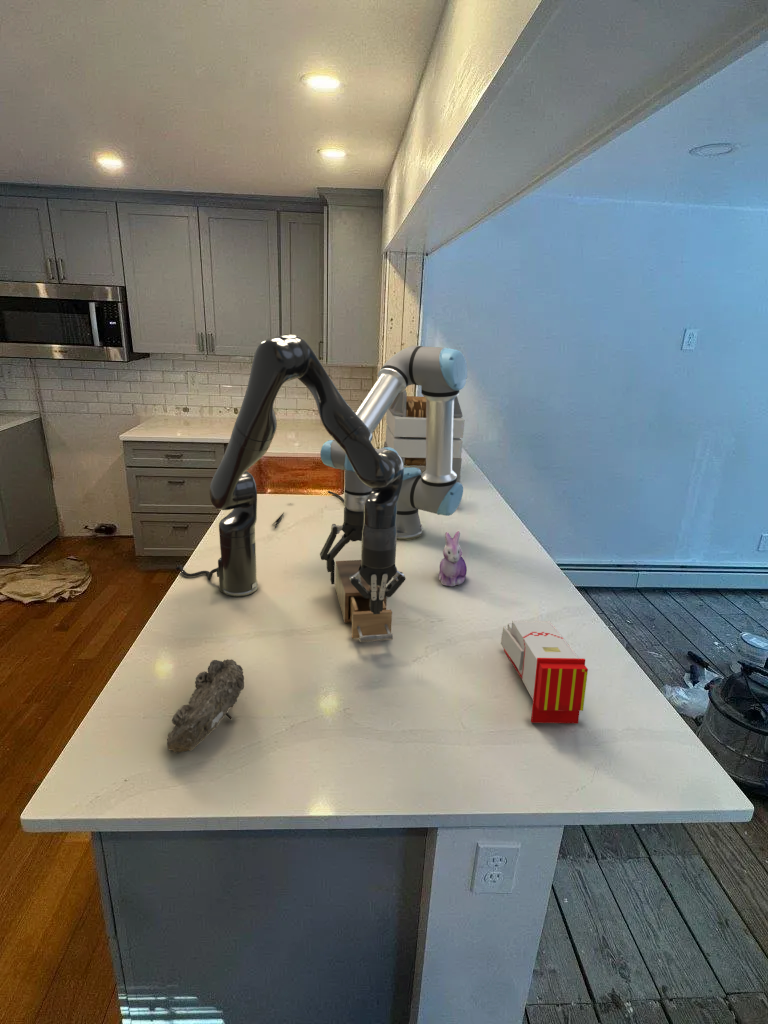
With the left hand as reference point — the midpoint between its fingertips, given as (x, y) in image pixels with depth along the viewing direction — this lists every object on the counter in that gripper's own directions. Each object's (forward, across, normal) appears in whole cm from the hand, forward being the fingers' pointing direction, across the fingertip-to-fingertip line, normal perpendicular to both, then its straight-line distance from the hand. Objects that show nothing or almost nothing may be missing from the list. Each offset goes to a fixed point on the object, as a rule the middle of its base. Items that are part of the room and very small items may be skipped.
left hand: (376, 612), depth 129 cm
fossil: (+10, -35, -18) cm, 41 cm away
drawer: (+9, 0, +9) cm, 13 cm away
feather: (+10, -18, +90) cm, 92 cm away
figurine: (+10, +29, +31) cm, 44 cm away
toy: (+10, +32, -17) cm, 38 cm away
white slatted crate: (+10, +50, +144) cm, 153 cm away
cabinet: (+10, 0, +22) cm, 24 cm away
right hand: (+6, 0, +27) cm, 27 cm away
